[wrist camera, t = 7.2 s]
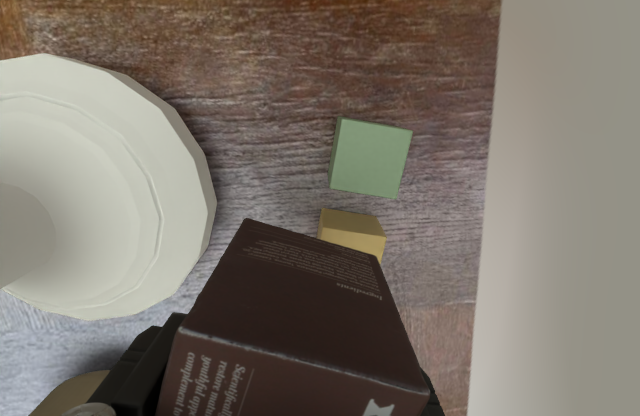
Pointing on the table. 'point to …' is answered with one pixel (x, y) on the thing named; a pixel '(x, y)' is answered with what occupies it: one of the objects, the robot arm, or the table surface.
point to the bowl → (70, 394)
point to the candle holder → (95, 190)
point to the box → (292, 335)
